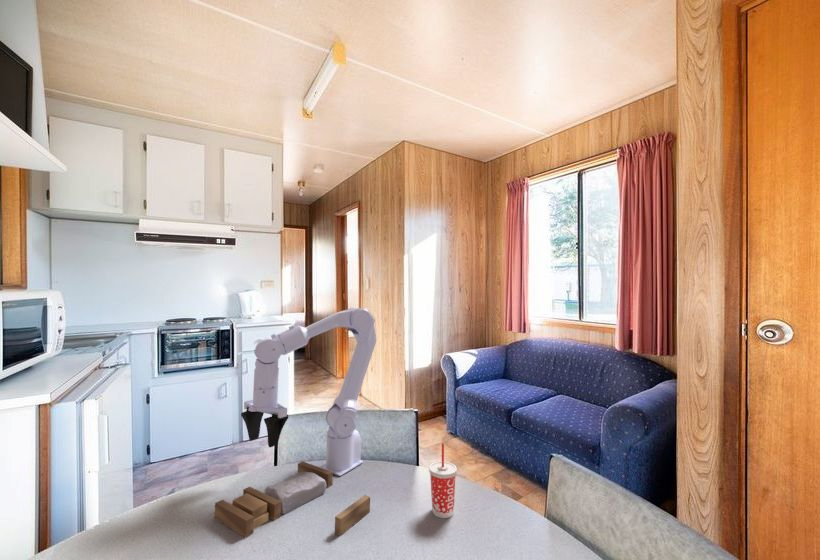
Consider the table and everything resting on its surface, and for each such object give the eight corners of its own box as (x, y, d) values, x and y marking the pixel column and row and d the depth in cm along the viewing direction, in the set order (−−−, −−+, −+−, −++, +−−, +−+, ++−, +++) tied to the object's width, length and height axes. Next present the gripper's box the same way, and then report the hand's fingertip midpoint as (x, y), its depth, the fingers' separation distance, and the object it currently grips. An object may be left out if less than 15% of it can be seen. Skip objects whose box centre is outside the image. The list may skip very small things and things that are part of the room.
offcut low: (245, 510, 71) (245, 500, 71) (268, 523, 67) (268, 512, 67) (228, 519, 68) (229, 509, 68) (251, 533, 64) (252, 522, 64)
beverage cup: (436, 523, 66) (436, 451, 68) (424, 506, 72) (424, 440, 73) (462, 516, 69) (462, 446, 70) (448, 500, 74) (448, 436, 76)
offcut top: (246, 502, 71) (247, 493, 71) (266, 512, 67) (267, 503, 67) (232, 509, 68) (232, 500, 68) (252, 520, 64) (252, 511, 65)
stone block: (258, 510, 73) (284, 517, 68) (258, 486, 75) (283, 491, 69) (304, 490, 83) (329, 495, 77) (303, 469, 84) (328, 472, 78)
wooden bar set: (302, 473, 87) (302, 461, 87) (380, 503, 73) (380, 489, 73) (214, 518, 67) (215, 502, 68) (298, 570, 54) (299, 550, 54)
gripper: (234, 386, 84) (230, 441, 82) (270, 393, 76) (267, 454, 75) (259, 381, 90) (256, 433, 88) (295, 388, 82) (292, 444, 81)
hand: (263, 442), depth 82 cm, fingers open, 7 cm apart
